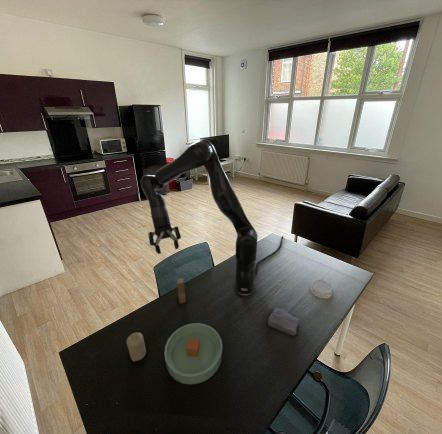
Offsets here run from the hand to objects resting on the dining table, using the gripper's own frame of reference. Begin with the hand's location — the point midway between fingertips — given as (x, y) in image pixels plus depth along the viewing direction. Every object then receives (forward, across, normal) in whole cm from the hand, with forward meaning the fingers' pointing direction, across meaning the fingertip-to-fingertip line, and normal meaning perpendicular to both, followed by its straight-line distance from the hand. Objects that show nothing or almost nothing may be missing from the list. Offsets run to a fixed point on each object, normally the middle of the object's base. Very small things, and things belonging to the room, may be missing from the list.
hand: (168, 251), depth 109 cm
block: (+37, -7, -19) cm, 43 cm away
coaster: (+38, +59, -31) cm, 77 cm away
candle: (+34, -23, -8) cm, 42 cm away
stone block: (+41, +30, -30) cm, 59 cm away
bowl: (+39, -7, -20) cm, 44 cm away
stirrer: (+24, +2, +2) cm, 24 cm away
